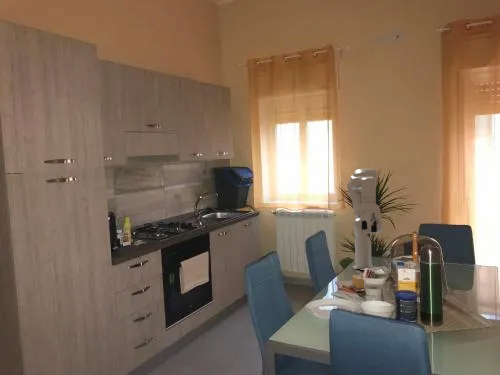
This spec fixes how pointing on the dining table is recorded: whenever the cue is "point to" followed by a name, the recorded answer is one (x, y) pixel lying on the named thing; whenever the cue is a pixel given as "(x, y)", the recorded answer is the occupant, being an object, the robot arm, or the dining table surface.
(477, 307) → the dining table surface
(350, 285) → the base plate
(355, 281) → the orange cube
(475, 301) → the dining table surface
